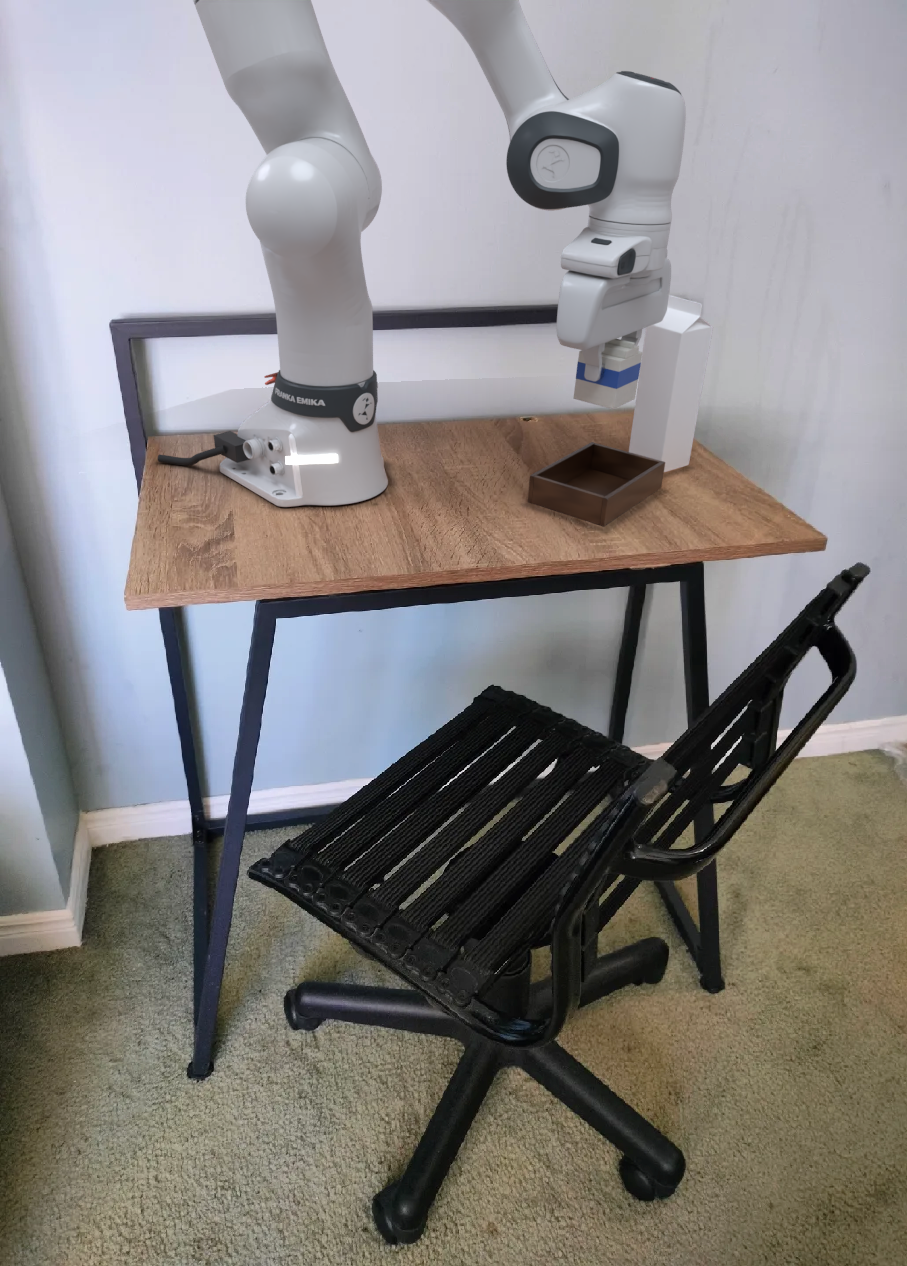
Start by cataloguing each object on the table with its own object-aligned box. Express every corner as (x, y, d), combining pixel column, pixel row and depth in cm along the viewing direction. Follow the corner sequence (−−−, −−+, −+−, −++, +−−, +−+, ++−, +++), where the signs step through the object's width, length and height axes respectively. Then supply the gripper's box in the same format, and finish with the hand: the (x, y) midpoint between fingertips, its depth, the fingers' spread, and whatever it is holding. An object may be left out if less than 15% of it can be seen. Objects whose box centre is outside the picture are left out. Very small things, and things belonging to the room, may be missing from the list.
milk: (659, 477, 123) (686, 306, 111) (626, 462, 127) (648, 296, 115) (689, 467, 126) (718, 300, 114) (656, 453, 130) (681, 291, 118)
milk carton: (572, 398, 109) (580, 337, 105) (595, 388, 112) (603, 329, 109) (613, 409, 106) (622, 347, 102) (635, 398, 110) (645, 338, 106)
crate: (527, 505, 113) (529, 475, 111) (588, 470, 124) (591, 441, 122) (603, 530, 108) (607, 499, 106) (660, 491, 119) (665, 461, 116)
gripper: (643, 233, 109) (625, 350, 116) (552, 253, 95) (539, 385, 102) (692, 241, 106) (671, 361, 113) (606, 263, 92) (588, 398, 99)
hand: (607, 373), depth 108 cm, fingers closed on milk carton, 5 cm apart
